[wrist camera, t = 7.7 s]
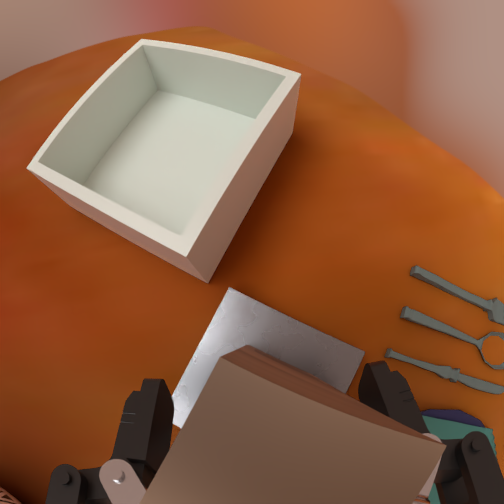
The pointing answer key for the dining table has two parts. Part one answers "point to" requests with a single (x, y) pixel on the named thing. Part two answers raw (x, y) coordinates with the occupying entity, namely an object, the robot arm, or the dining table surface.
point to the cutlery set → (454, 421)
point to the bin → (172, 148)
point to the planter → (7, 498)
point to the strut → (288, 443)
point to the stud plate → (263, 348)
